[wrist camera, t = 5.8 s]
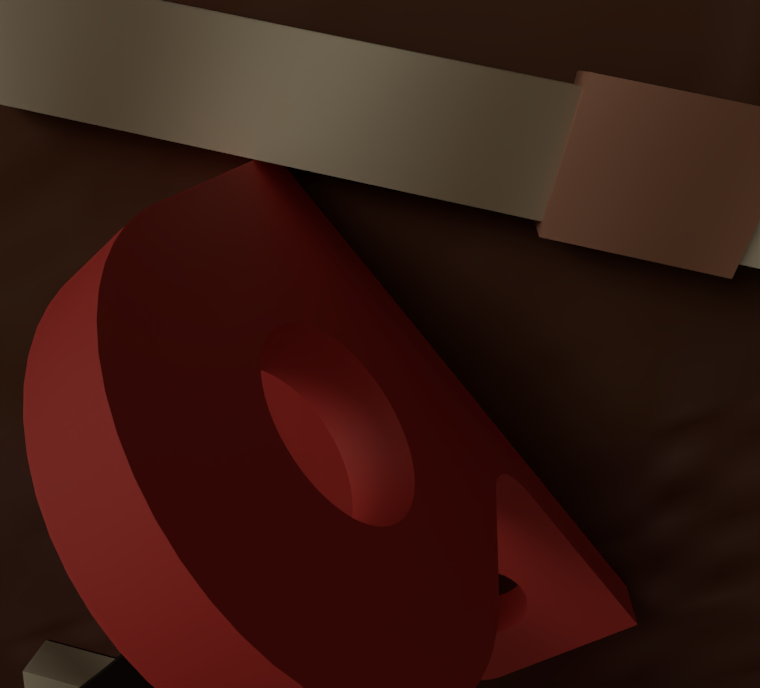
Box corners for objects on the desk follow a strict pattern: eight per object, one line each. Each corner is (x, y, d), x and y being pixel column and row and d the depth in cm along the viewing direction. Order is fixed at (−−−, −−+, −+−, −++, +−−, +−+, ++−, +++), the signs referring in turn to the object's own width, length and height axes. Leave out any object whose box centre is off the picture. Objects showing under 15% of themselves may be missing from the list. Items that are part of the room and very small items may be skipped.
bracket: (121, 290, 13) (-338, 584, 6) (275, 150, 11) (-102, 318, 4) (462, 650, 16) (446, 1144, 8) (625, 583, 14) (776, 1130, 7)
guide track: (50, 688, 19) (24, 726, 18) (-20, -50, 10) (-79, -63, 9) (602, 838, 18) (610, 889, 17) (1039, 163, 9) (1112, 177, 8)
